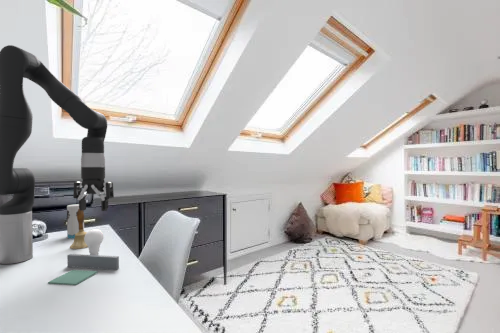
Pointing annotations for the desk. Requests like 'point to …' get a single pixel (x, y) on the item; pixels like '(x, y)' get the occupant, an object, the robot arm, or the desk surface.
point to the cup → (72, 220)
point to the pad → (73, 277)
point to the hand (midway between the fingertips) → (93, 210)
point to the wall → (93, 261)
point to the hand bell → (79, 233)
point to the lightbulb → (94, 241)
